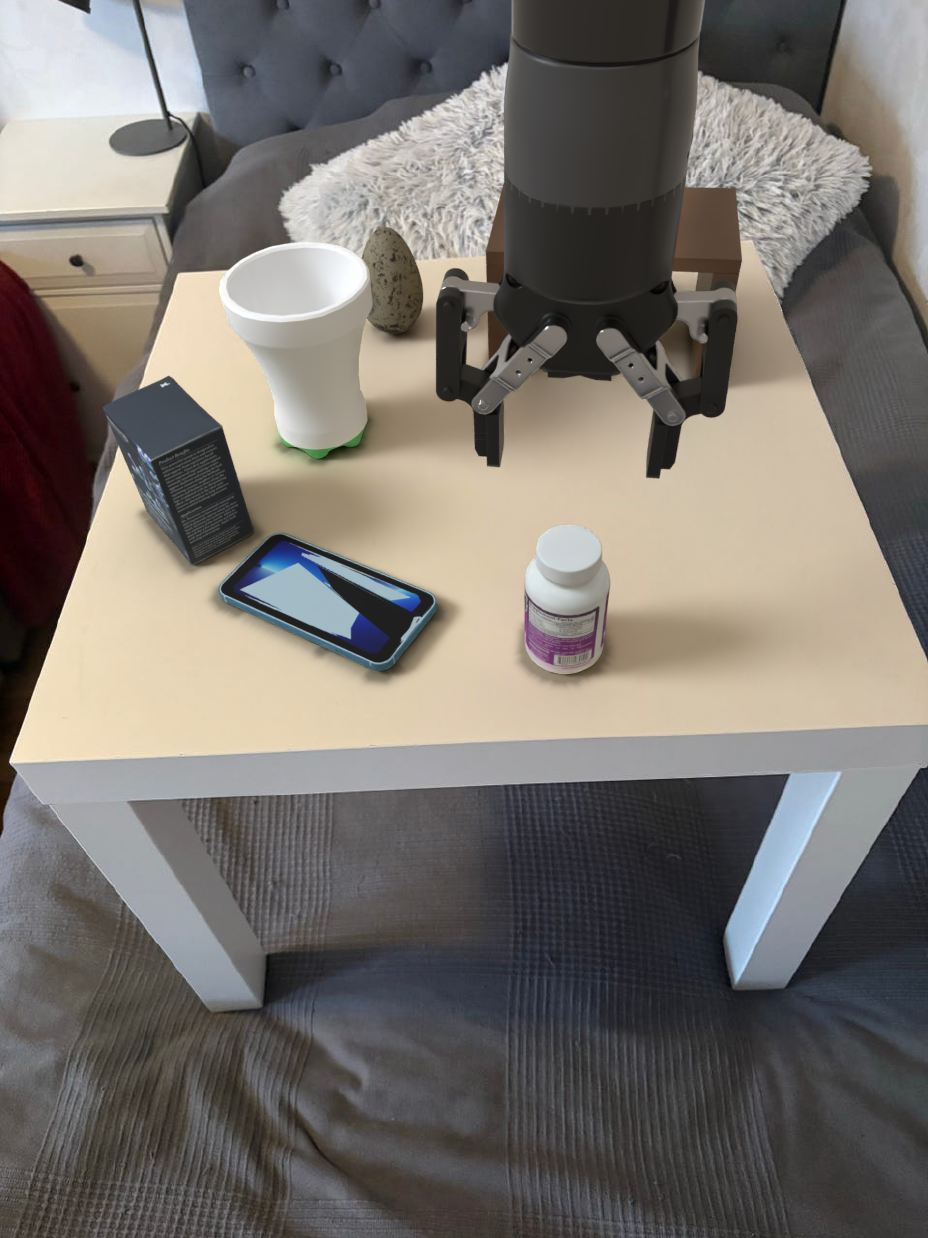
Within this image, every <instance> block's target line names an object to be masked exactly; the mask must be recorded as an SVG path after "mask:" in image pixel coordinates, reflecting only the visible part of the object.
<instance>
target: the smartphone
mask: <svg viewBox="0 0 928 1238" xmlns="http://www.w3.org/2000/svg"><path fill="white" fill-rule="evenodd" d="M218 593H219V596H220V598H221V600H222V601H223V602H224V603H226V604H228V605H230V606H233V607H235V608H237V609H239V610H242V611H243V612H246V613H248V614H250V615H252V616H254V617H257V618H259V619H261V620H264V621H265V622H268V623H269V624H272V625H274V626H276V627H279V628H281V629H283V630H285V631H287V632H289V633H291V634H294V635H296V636H298V637H300V638H303V639H305V640H307V641H309V642H311V643H314V644H316V645H318V646H320V647H323V648H324V649H327V650H329V651H331V652H334V653H336V654H338V655H339V656H342V657H345V658H346V659H348V660H351V661H353V662H355V663H358V664H360V665H362V666H364V667H366V668H369V669H370V670H373V671H380V672H382V671H386V670H388V669H390V668H392V667H394V666H395V664H396V663H397V661H398V660H399V659H400V658H401V656H402V655H403V654H404V652H406V650H407V649H408V648H409V646H410V645H411V644H412V642H413V641H414V640H415V639H416V637H417V636H418V635H419V634H420V633H421V631H422V630H423V629H424V628H425V626H426V625H427V624H428V622H429V621H430V620H431V618H432V617H433V616H434V615H435V614H436V613H437V610H438V601H437V597H436V595H435V594H434V593H433V592H431V591H430V590H426V589H424V588H421V587H419V586H416V585H414V584H412V583H409V582H406V581H404V580H402V579H400V578H397V577H394V576H391V575H390V574H387V573H385V572H382V571H379V570H377V569H375V568H372V567H370V566H367V565H365V564H362V563H359V562H358V561H355V560H353V559H350V558H347V557H345V556H344V555H343V556H342V555H340V554H337V553H335V552H332V551H330V550H327V549H325V548H323V547H320V546H318V545H315V544H314V543H310V542H308V541H305V540H303V539H301V538H298V537H296V536H293V535H291V534H288V533H285V532H274V533H271V534H270V535H268V536H266V538H265V539H264V540H263V541H261V543H260V544H258V546H257V547H256V548H254V550H252V552H251V553H250V554H249V555H247V557H246V558H245V559H244V560H243V561H242V562H240V564H238V566H237V567H236V568H234V569H233V571H231V572H230V574H228V576H226V577H225V578H224V579H223V580H222V581H221V583H220V584H219V585H218Z"/></svg>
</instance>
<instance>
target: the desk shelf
mask: <svg viewBox="0 0 928 1238" xmlns="http://www.w3.org/2000/svg"><path fill="white" fill-rule="evenodd" d="M737 199H738V198H737V190H736V188H735V187H704V186H703V187H701V186H700V187H699V186H697V187H696V186H695V187H694V186H685V189H684V196H683V202H682V209H681V216H680V223H679V230H678V237H677V244H676V250H675V257H674V264H673V271H672V272H678V273H697V277H696V283H695V290H694V291H709V289H710V287H711V285H712V284H713V283H715V282H716V281H719V280H728V281H731V282H732V283H733V284H734V286H735V290H736V291H737V288H738V282H739V278H740V273H741V268H742V263H743V253H742V243H741V231H740V222H739V221H740V219H739V211H738V210H739V209H738V200H737ZM485 273H486V277H485V278H486V282H487V283H497V284H498V283H499V281H500V280H501V278H502V276H503V274H504V182H503V184H502V188H501V190H500V195H499V199H498V203H497V207H496V211H495V213H494V218H493V221H492V226H491V229H490V233H489V237H488V241H487V244H486V250H485ZM486 313H487V349H488V350H487V351H488V354H487V355H488V361H489V360H490V359H491V357H492V356H493V355H494V354H495V353H496V352H497V351H498V349H499V348H500V346H501V344H502V342H503V341H504V339H505V338H506V337H507V335H508V334H509V333H508V332H507V331H506V329H505V328H504V327H503V326H502V324H501V323H500V322H499V321H498V319H497V318H496V316H495V313H494V311H489V312H486ZM702 346H703V344H702V343H699V342H698V341H696V340H694V339H693V338H692V337H691V352H692V355H691V356H692V358H691V359H692V360H691V361H692V378H696V377H699V372H700V363H701V355H702Z"/></svg>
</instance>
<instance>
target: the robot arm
mask: <svg viewBox="0 0 928 1238" xmlns="http://www.w3.org/2000/svg"><path fill="white" fill-rule="evenodd" d="M705 4H706V0H510V1H509V5H510V7H509V8H510V9H509V13H510V14H509V19H510V21H509V25H510V26H509V27H510V28H509V31H510V35H509V52H508V53H509V54H508V63H507V69H506V70H507V71H506V77H505V85H504V86H505V87H504V97H503V183H504V274H503V276H502V278H501V280H500V281H499V283H498V284H497V283H487V281H486V282H485V281H476V280H470V279H469V276H468V274H467V272H466V271H465V270H463V269H461V268H459V267H452V268H449V269H448V270H447V271H446V272H445V273H444V276H443V280H442V283H441V286H440V289H439V293H438V296H437V299H436V303H435V393H436V396H437V397H438V398H439V399H440V400H441V401H443V402H447V403H451V402H454V401H457V400H458V401H461V402H464V403H465V404H467V405H468V406H469V407H470V408H471V409H472V410H471V411H472V413H473V414H472V415H473V432H474V433H473V440H474V441H473V442H474V450H475V452H476V454H477V456H478V457H483V458H486V467H489V468H501V465H502V459H503V454H504V449H505V448H504V447H505V399H506V398H507V397H508V396H509V395H510V394H511V393H516V392H517V391H518V390H519V389H520V388H521V387H522V386H523V385H524V384H526V382H527V381H528V380H529V379H530V378H531V377H532V376H533V375H534V374H535V373H536V372H537V371H538V370H540V371H542V372H544V373H547V378H548V379H549V378H551V379H568V378H575V377H583V378H587V379H589V380H593V381H600V382H601V381H603V382H612V379H613V377H616V376H619V375H622V377H623V378H624V379H625V381H627V383H628V384H629V386H630V387H631V388H632V390H633V391H634V392H635V394H636V395H637V396H638V397H639V398H640V399H641V400H646V402H647V403H648V404H649V406H650V407H651V408H652V415H651V423H650V429H649V437H648V441H647V450H646V460H645V461H646V462H645V463H646V464H645V478H646V479H658V480H659V479H660V477H661V473H662V470H671V469H672V467H673V466H674V465H675V464H676V461H677V454H678V450H679V449H678V448H679V443H680V438H681V433H682V432H681V431H682V427H683V424H684V423H685V421H686V420H688V419H689V418H691V417H694V416H698V415H702V416H703V417H705V418H708V419H714V418H717V417H720V416H721V415H722V414H724V412H725V410H726V405H727V404H726V403H727V397H728V392H729V391H728V390H729V385H730V377H731V370H732V364H733V363H732V362H733V355H734V350H735V349H734V348H735V343H736V335H737V328H738V321H739V316H738V303H737V301H738V300H737V289H736V290H735V286H734V284H733V283H732V282H731V281H728V280H719V281H716V282H715V283H713V284H712V285H711V287H710V289H709V291H695V290H677V288H676V286H675V284H674V281H673V272H674V271H673V264H674V257H675V250H676V244H677V237H678V230H679V223H680V216H681V209H682V202H683V196H684V189H685V187H686V181H687V175H688V166H689V160H690V155H691V147H692V144H693V141H694V133H695V132H694V130H695V129H694V126H695V122H696V121H695V120H696V112H697V105H698V90H699V89H698V87H699V49H700V41H701V40H700V39H701V37H700V36H701V34H700V33H701V32H702V24H703V18H704V12H705V11H704V10H705ZM489 311H494V313H495V316H496V318H497V319H498V321H499V322H500V323H501V324H502V326H503V327H504V328H505V329H506V331H507V332H508V333H509V334H508V335H507V337H506V338H505V339H504V341H503V342H502V344H501V346H500V348H499V349H498V351H497V352H496V353H495V354H494V355H493V356H492V357H491V359H490V360H489V359H488V361H487V362H486V363H485V364H484V365H483V366H482V367H481V368H478V367H476V366H473V365H470V364H468V363H467V355H468V354H467V353H468V333H469V332H470V331H472V330H475V329H476V328H478V327H479V326H480V323H481V319H482V317H483V316H484V315H485V314H486V313H487V312H489ZM676 321H682V322H684V323H685V324H686V325H687V326H688V330H689V335H690V337H691V339H692V338H693V339H694V340H696V341H698V342H699V343H702V344H703V346H702V355H701V363H700V372H699V377H696V378H693V377H691V378H687V379H684V380H683V378H682V376H680V374H679V373H678V371H677V369H676V368H675V367H674V365H673V364H672V363H671V361H670V360H669V358H668V356H667V353H666V350H665V348H664V346H663V344H662V343H661V341H660V339H662V337H663V336H664V335H666V334H667V332H668V331H670V329H671V328H672V327H674V325H675V323H676Z"/></svg>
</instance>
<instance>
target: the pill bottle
mask: <svg viewBox="0 0 928 1238" xmlns="http://www.w3.org/2000/svg"><path fill="white" fill-rule="evenodd" d="M523 585H524V596H523V597H524V598H523V599H524V614H523V615H524V617H523V618H524V628H523V629H524V646H525V649H526V653H527V655H528V657H529V658H530V659H531V660H532V661H533V662H534V663H535V664H536V665H537V666H538V667H540V668H541V669H543V670H545V671H547V672H549V673H555V674H558V675H570V674H577V673H579V672H582V671H584V670H586V669H589V668H590V667H592V666H593V665H594V664H595V663H596V662H597V661H598V660H599V659H600V658H601V655H602V653H603V650H604V646H605V645H604V644H605V637H606V626H607V619H608V618H607V616H608V608H609V598H610V590H611V574H610V572H609V569H608V566H607V564H606V563H605V561H604V560H603V544H602V541H601V540H600V538H599V537H598V536H597V535H596V533H594V532H593V531H592V530H590V529H588V528H587V527H585V526H582V525H577V524H576V525H575V524H561V525H557V526H556V525H555V526H553V527H551V528H549V529H548V530H546V531H544V532H543V533H542V534H541V535H540V537H539V538H538V540H537V541H536V546H535V556H534V558H533V559H531V560H530V563H529V564H528V565H527V568H526V571H525V575H524V583H523Z"/></svg>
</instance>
